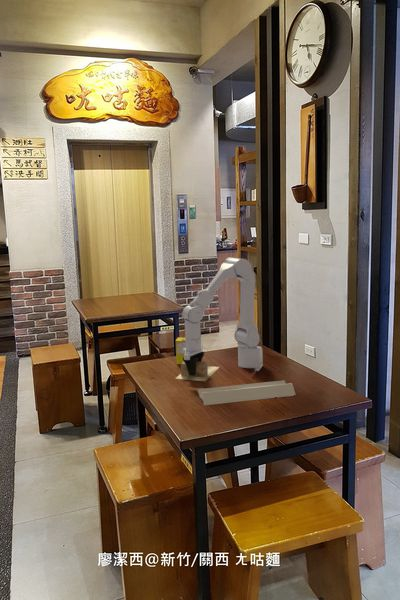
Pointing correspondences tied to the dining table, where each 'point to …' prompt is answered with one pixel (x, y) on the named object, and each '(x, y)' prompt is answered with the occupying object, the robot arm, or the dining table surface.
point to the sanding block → (200, 370)
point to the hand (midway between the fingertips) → (194, 373)
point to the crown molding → (246, 392)
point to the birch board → (210, 372)
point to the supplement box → (180, 349)
